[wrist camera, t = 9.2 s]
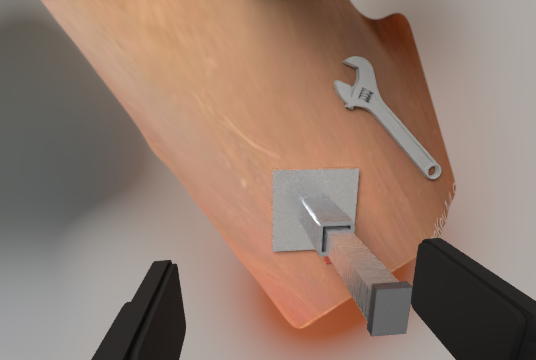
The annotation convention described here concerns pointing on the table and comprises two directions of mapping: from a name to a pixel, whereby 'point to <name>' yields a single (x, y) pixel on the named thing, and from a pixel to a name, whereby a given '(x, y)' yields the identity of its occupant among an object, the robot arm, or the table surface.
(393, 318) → the column
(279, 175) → the stand base
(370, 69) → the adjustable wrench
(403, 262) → the table surface
